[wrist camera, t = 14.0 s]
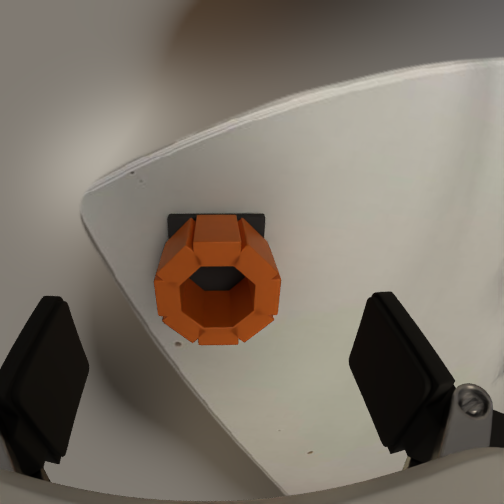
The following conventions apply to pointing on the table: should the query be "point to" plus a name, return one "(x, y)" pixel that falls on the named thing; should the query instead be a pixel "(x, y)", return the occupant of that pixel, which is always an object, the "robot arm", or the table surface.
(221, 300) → the orange octagonal tube
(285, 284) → the table surface
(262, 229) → the mat
